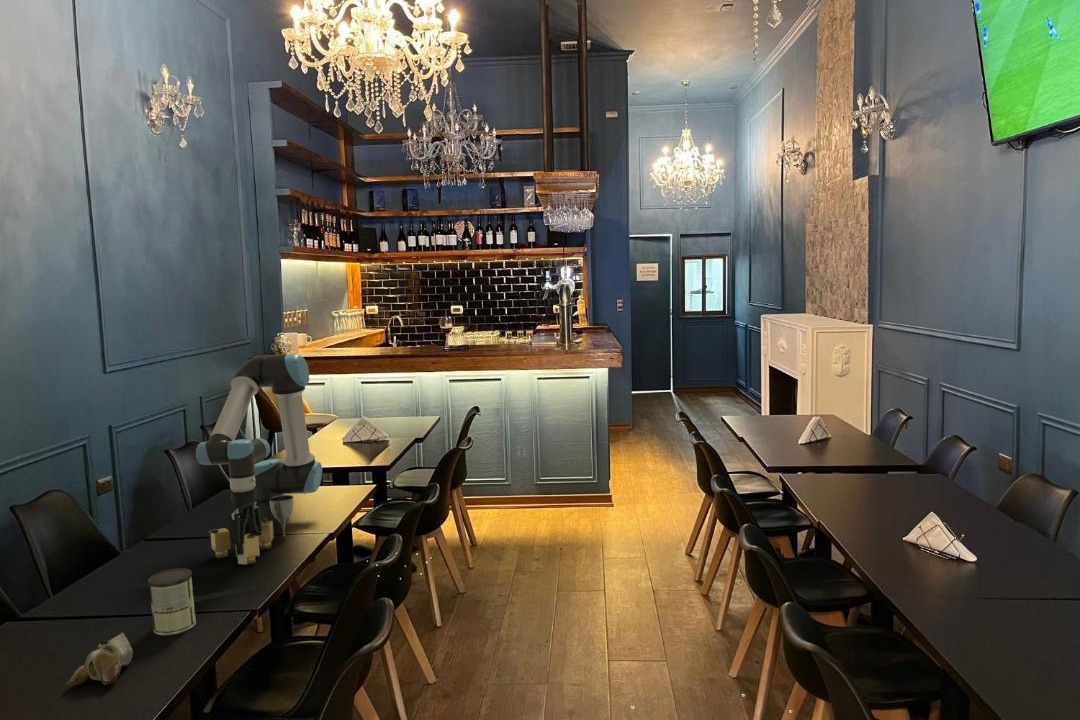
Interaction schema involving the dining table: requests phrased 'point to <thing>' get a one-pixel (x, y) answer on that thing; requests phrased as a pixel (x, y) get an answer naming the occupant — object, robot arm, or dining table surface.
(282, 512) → the grey funnel
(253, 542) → the knob
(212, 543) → the knob
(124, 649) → the ceramic sculpture
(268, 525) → the knob
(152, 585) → the coffee can
